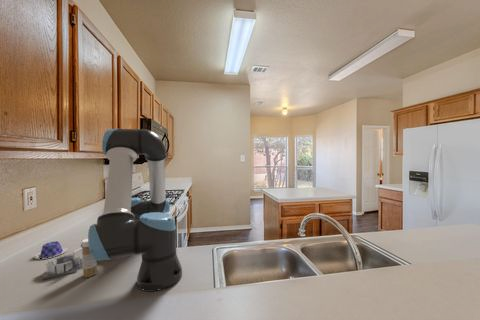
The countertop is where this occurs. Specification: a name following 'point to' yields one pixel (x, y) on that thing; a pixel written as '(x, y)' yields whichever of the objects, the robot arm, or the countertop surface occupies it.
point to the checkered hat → (51, 250)
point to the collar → (62, 266)
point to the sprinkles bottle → (88, 260)
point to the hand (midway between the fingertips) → (90, 255)
